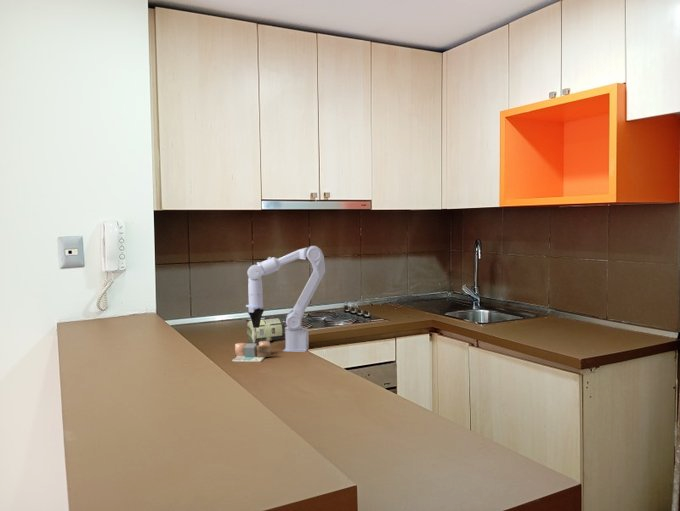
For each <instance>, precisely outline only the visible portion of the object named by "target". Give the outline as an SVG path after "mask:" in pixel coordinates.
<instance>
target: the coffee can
mask: <svg viewBox="0 0 680 511" xmlns="http://www.w3.org/2000/svg"><path fill="white" fill-rule="evenodd" d="M246 335H247V339H248V342H249V341H250V342H251V343H257V344H259V342H260V341H272V342H275V341H280V340H281V341H283V340H284V339H285V324H284V321H283V319H282V318H281V317H278V318H268V319H261V321H260V326H259V328H254V327H253V324H252V320H249V321H248V322H247V326H246ZM274 340H275V341H274ZM250 342H249V343H250Z"/></svg>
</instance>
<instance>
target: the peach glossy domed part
mask: <svg viewBox="0 0 680 511" xmlns="http://www.w3.org/2000/svg"><path fill="white" fill-rule="evenodd" d="M246 344H247V343H246V342H237V343H235V344H234V353H235V357H237V356H238V357H242V356H245V354H244V347H245V345H246Z"/></svg>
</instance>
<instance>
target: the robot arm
mask: <svg viewBox="0 0 680 511" xmlns="http://www.w3.org/2000/svg"><path fill="white" fill-rule="evenodd" d="M307 259H308V261H309V262H310V264H311V267H312V270H313V271H312V272H311V275H310V276H309V279H308V280H307V281H306V284H305V286H304V288H303V289H302V291H301V294H300V296H299V297H298V299H297V301H296V302H295V304H294V306H293V308H292V310H291V311H289V312H288V313H287V315H286V316H285V319H286V320H285V325H286V326H284V328H285V336H284V339H285V340H284V341H285V344H284V345H285V348H284V349H282V352H283V351H284V352H288V353H290V352H293V353H295V352H296V353H297V352H298V353H303V352H304V353H306V352H307V350H309V347H310V346H309V345H310V343H309V341H310V340H309V338H310V337H309V336H310V335H309V329H308V328H303V326H302V319H303V317H304V315H305V313H306V312H305V311H306V309H307V307H308V305H309V304H310V303H311V302H310V301H311V300H312V298H313V296H314V294H315V293H316V290H317V289H318V286H319V285H320V283H321V281H322V280H323V278H324V275H325V274H326V265H325V264H326V263H325V256H324V253H323V251H322V249H321V248H319V247H318V246H317V245H310V246H308V247H303V248H300V249H296V250H295V251H293V252H289V253H287V254H285V255H284V256H282V257H281V256H280V257H279V258H277V257H275V256H273V257H271V256H268V257H267V259H265V260H263V261H261V262H260V261H257V262H256V264H252V265H250V267H249V268H248V269H247V272H246V274H247V277H248V278H247V279H248V281H247V282H248V284H247V286H248V288H247V289H248V290H247V291H248V292H247V293H248V304H246V305H245V308H248V310H247V314H248V315H249V317H250V319H251V320H250V321H252V324H253V327H254V328H259V326H260V321H261V320H262V316H263V314H264V312H265V310H264V309H263V308H264V300H263V299H264V298H263V297H264V295H263V294H264V293H263V282H262V280H263V279H262V276H268V275H270V274H272V273H275V272H277V271H279V270H280V268H281V266H283V265H286V264H288V263H291V262H294V261H297V260H307ZM261 308H262V309H261Z"/></svg>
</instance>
